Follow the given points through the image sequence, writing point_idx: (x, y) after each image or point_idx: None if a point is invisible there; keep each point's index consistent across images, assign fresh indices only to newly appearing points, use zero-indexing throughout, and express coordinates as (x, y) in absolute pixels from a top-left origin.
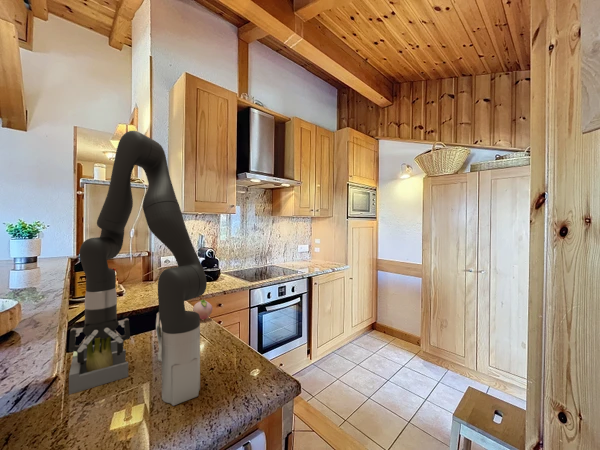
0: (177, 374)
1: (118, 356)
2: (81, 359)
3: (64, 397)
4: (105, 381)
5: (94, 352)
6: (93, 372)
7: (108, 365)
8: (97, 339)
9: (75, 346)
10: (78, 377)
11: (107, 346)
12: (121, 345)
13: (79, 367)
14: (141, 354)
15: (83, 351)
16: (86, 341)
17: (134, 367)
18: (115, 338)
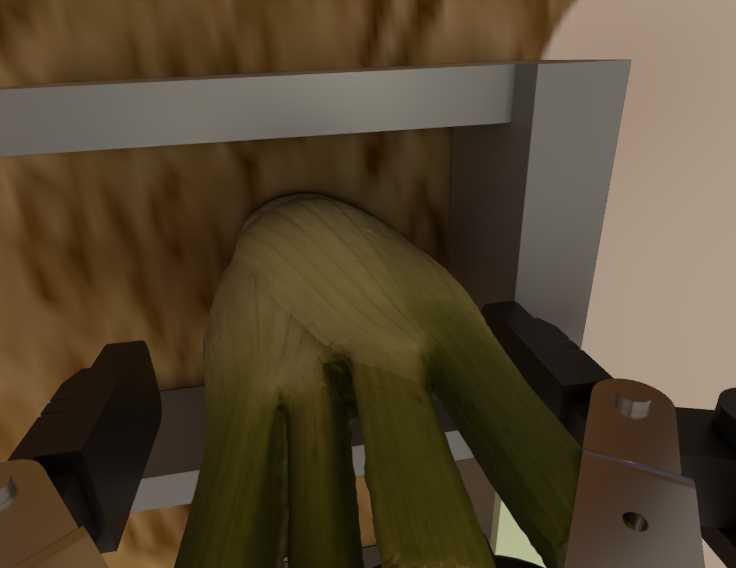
0: None
1: (183, 437)
2: (530, 326)
3: (547, 31)
4: (254, 73)
5: (415, 354)
6: (376, 76)
7: (243, 258)
8: (439, 539)
9: (726, 475)
10: (515, 63)
11: (244, 429)
12: (40, 439)
13: (524, 227)
14: None
15: (564, 391)
16: (658, 503)
17: (30, 265)
18: (57, 546)
